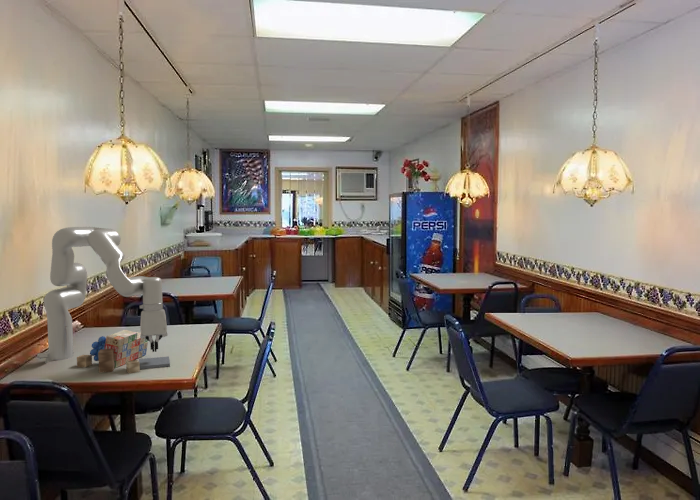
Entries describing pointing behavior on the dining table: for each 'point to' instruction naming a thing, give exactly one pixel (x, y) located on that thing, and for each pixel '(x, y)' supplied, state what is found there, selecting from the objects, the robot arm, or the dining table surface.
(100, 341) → the grapes
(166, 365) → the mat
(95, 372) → the dining table surface
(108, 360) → the walnut block
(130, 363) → the maple cube
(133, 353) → the stack of blocks
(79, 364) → the oak cube
